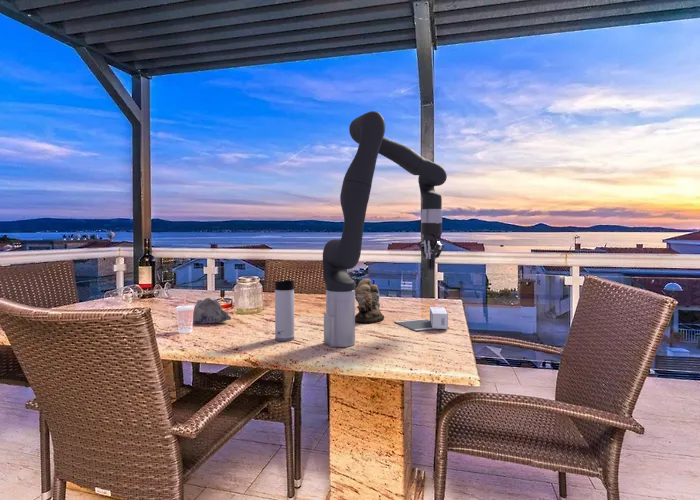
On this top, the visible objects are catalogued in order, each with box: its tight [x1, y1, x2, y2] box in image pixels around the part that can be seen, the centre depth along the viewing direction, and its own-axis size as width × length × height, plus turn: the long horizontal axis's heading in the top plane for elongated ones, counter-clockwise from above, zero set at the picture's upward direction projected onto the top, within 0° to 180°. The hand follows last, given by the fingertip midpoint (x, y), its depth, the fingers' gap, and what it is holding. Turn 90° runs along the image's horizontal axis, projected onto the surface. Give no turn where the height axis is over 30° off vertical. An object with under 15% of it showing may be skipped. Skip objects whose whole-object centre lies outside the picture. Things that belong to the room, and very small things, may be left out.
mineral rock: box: [193, 297, 232, 325], centre depth 160 cm, size 13×11×10 cm
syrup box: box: [429, 306, 449, 330], centre depth 156 cm, size 6×6×14 cm
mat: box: [394, 318, 450, 333], centre depth 157 cm, size 14×16×1 cm
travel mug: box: [274, 279, 295, 343], centre depth 136 cm, size 6×7×20 cm
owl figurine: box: [355, 278, 385, 325], centre depth 167 cm, size 18×12×17 cm, turn 159°
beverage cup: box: [175, 292, 195, 334], centre depth 146 cm, size 6×6×14 cm
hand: (430, 269), depth 151 cm, fingers closed
